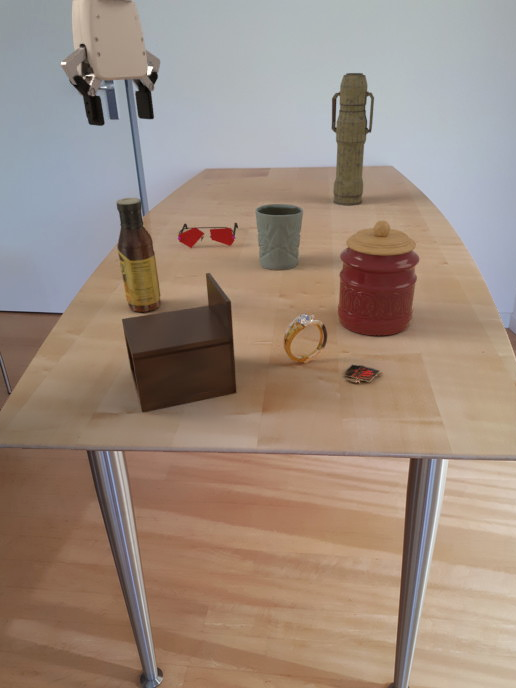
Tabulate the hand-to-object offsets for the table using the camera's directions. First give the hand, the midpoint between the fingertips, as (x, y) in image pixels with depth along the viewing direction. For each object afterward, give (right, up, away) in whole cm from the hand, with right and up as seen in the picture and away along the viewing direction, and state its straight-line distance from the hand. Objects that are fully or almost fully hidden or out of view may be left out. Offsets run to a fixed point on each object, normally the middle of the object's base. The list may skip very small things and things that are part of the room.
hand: (122, 121), depth 86 cm
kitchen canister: (+41, -30, +11) cm, 53 cm away
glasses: (+7, -5, +53) cm, 54 cm away
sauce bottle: (-1, -27, +17) cm, 32 cm away
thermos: (+46, +13, +84) cm, 96 cm away
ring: (+29, -38, -1) cm, 48 cm away
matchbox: (+37, -40, -5) cm, 55 cm away
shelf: (+11, -41, -6) cm, 43 cm away
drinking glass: (+25, -15, +37) cm, 47 cm away
